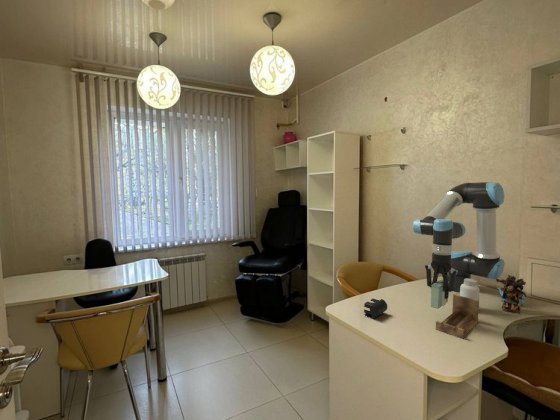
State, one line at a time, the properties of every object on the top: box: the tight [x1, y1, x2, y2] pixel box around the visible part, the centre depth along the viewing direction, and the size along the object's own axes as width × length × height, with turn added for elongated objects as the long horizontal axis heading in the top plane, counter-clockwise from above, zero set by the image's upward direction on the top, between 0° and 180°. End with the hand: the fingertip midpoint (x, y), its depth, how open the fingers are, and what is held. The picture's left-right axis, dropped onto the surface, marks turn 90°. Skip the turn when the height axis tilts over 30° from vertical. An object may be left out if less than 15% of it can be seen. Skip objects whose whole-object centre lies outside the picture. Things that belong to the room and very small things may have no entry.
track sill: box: [435, 294, 480, 340], centre depth 122 cm, size 10×22×10 cm, turn 131°
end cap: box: [363, 298, 388, 319], centre depth 132 cm, size 10×7×7 cm
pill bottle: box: [459, 278, 481, 301], centre depth 139 cm, size 8×8×15 cm
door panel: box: [430, 278, 449, 310], centre depth 127 cm, size 3×12×10 cm, turn 131°
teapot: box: [497, 287, 526, 306], centre depth 147 cm, size 12×6×8 cm, turn 35°
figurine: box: [495, 274, 527, 314], centre depth 137 cm, size 11×9×18 cm
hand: (439, 303), depth 127 cm, fingers closed on door panel, 3 cm apart
